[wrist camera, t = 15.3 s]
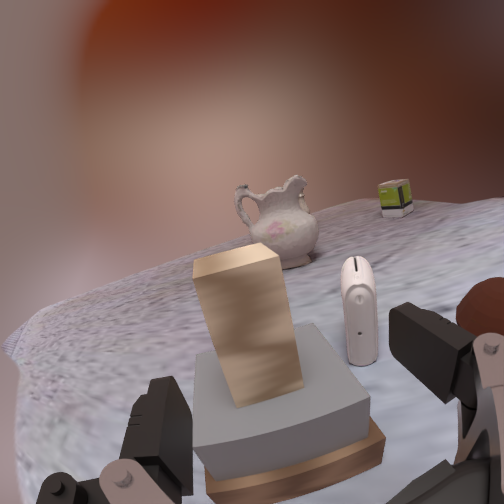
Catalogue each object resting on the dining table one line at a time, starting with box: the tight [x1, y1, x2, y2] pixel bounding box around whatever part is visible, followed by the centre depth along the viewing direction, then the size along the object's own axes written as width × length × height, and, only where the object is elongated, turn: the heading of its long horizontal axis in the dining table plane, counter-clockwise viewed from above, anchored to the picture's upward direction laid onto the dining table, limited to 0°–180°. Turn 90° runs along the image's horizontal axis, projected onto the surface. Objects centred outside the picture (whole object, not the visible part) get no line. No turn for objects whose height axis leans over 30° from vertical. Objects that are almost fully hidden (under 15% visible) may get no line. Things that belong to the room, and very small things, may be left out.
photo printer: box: [341, 256, 378, 366], centre depth 34 cm, size 10×4×12 cm, turn 162°
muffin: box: [456, 277, 504, 337], centre depth 21 cm, size 12×11×10 cm
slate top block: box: [193, 323, 370, 481], centre depth 21 cm, size 12×12×5 cm
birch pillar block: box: [193, 242, 304, 408], centre depth 19 cm, size 5×5×10 cm
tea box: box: [378, 179, 414, 218], centre depth 108 cm, size 15×10×15 cm
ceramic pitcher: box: [234, 175, 319, 269], centre depth 78 cm, size 22×20×25 cm
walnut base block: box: [204, 417, 386, 504], centre depth 22 cm, size 14×14×5 cm
